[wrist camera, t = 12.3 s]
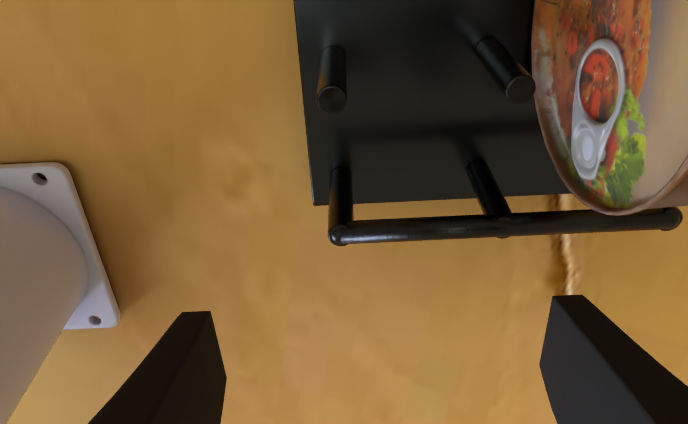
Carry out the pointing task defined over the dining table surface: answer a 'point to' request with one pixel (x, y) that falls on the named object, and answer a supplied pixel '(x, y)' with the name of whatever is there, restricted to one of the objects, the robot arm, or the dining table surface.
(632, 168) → the tin
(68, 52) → the dining table surface
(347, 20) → the rack
